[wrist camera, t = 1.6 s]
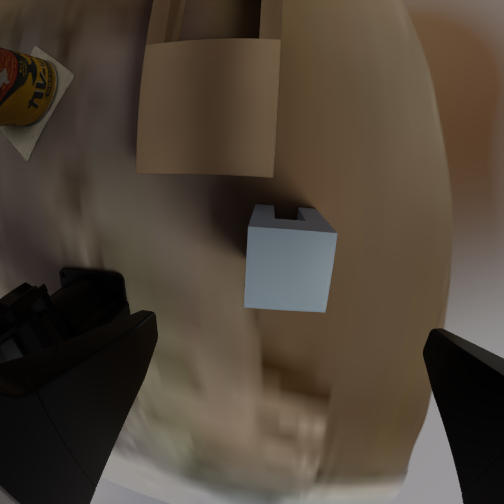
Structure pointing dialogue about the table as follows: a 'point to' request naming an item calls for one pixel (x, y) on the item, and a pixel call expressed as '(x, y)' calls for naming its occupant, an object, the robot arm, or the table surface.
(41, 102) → the condiment
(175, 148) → the brown slotted block
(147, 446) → the table surface
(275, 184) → the table surface
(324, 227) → the clip
